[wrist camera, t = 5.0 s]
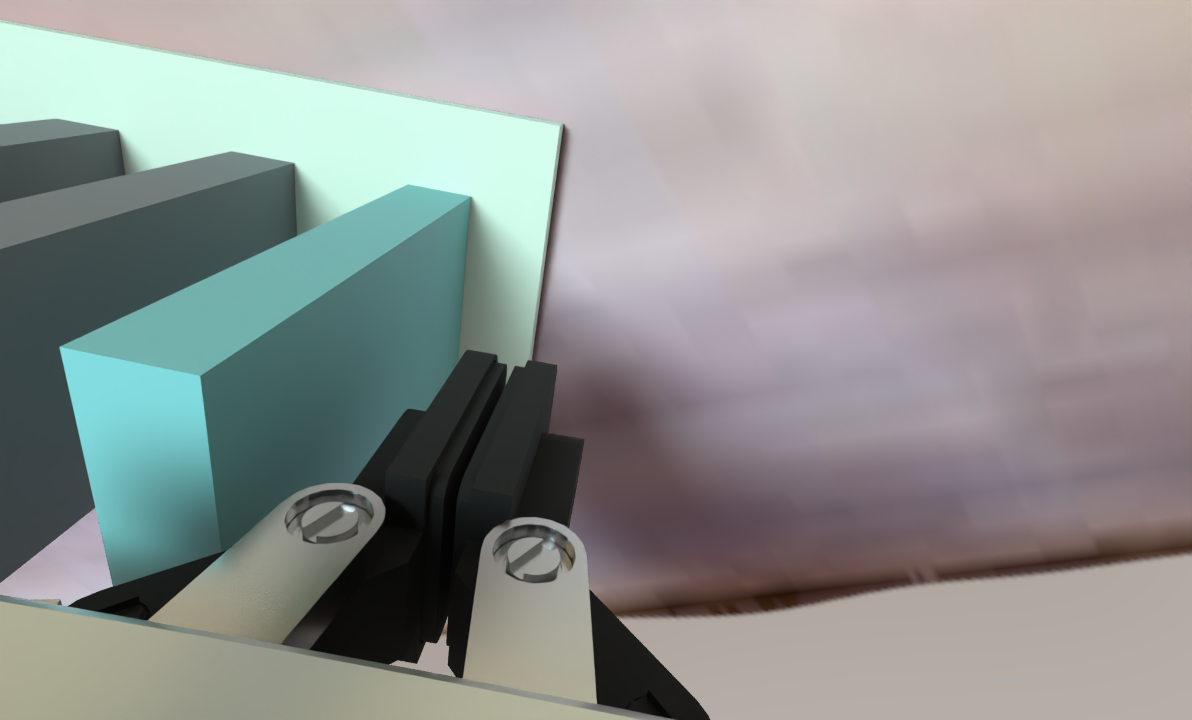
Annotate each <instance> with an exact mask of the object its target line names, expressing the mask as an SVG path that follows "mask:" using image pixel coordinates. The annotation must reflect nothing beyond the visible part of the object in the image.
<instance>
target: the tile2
mask: <svg viewBox="0 0 1192 720" xmlns="http://www.w3.org/2000/svg"><path fill="white" fill-rule="evenodd" d="M296 236H297V219H296V195H295V171H294V163H292V162H287V161H281V160H276V159H271V158H265V157H260V156H255V155H249V154H244V153H239V152H233V151H230V152H226V153H221V154H217V155H212V156H208V157H203V158H199V159H194V160H190V161H185V162H181V163H177V164H172V165H168V166H163V167H159V168H154V169H150V170H145V171H141V172H136V173H132V174H127V175H123V176H118V177H114V178H110V179H105V180H101V181H96V182H92V183H87V184H83V185H78V186H74V187H69V188H65V189H60V190H56V191H52V192H47V193H43V194H38V195H34V196H29V197H25V198H20V199H16V200H11V201H7V202H2V203H0V583H1V582H2V581H3V580H5V579H6V578H7V577H8V576H10V575H11V574H12V573H13V572H15V571H16V570H17V569H18V568H20V567H21V566H22V565H23V564H25V563H26V562H27V561H28V560H30V559H31V558H32V557H33V556H35V555H36V554H37V553H38V552H40V551H41V550H42V549H44V548H45V547H46V546H47V545H49V544H50V543H51V542H52V541H54V540H55V539H56V538H57V537H59V536H60V535H61V534H62V533H64V532H65V531H66V530H67V529H69V528H70V527H71V526H72V525H74V524H75V523H76V522H77V521H79V520H80V519H81V518H82V517H84V516H85V515H86V514H88V513H89V512H90V511H91V510H93V509H94V508H95V504H94V499H93V495H92V490H91V486H90V481H89V477H88V472H87V468H86V463H85V459H84V454H83V450H82V445H81V441H80V437H79V432H78V428H77V423H76V419H75V414H74V410H73V405H72V401H71V396H70V392H69V387H68V383H67V378H66V374H65V370H64V365H63V361H62V356H61V352H60V346H62V345H65V344H67V343H69V342H71V341H73V340H75V339H77V338H80V337H82V336H84V335H86V334H88V333H90V332H92V331H95V330H97V329H99V328H101V327H103V326H105V325H107V324H110V323H112V322H114V321H116V320H118V319H120V318H122V317H125V316H127V315H129V314H131V313H133V312H135V311H137V310H140V309H142V308H144V307H146V306H148V305H150V304H152V303H155V302H157V301H159V300H161V299H163V298H165V297H167V296H170V295H172V294H174V293H176V292H178V291H180V290H182V289H185V288H187V287H189V286H191V285H193V284H195V283H198V282H200V281H202V280H204V279H206V278H208V277H210V276H213V275H215V274H217V273H219V272H221V271H223V270H225V269H228V268H230V267H232V266H234V265H236V264H238V263H240V262H243V261H245V260H247V259H249V258H251V257H253V256H255V255H258V254H260V253H262V252H264V251H266V250H268V249H270V248H273V247H275V246H277V245H279V244H281V243H283V242H285V241H288V240H290V239H292V238H294V237H296Z"/></svg>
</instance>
